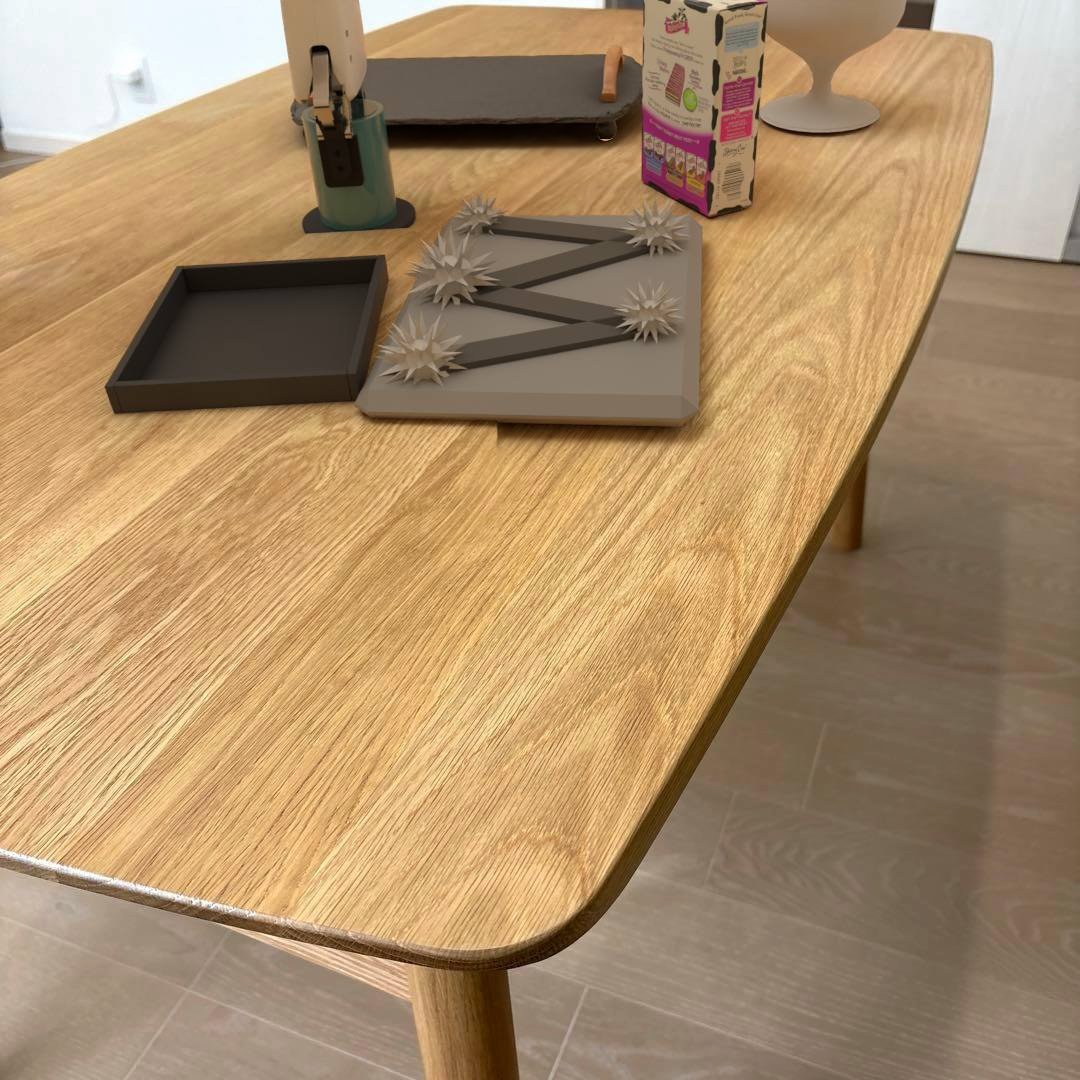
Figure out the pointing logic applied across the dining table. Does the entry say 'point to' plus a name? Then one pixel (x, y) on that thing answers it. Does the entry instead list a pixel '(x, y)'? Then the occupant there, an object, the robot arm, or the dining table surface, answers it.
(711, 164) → the candy bar box
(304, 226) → the coaster
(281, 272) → the tray
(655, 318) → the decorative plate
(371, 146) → the cup
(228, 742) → the dining table surface
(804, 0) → the chalice
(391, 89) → the serving tray
